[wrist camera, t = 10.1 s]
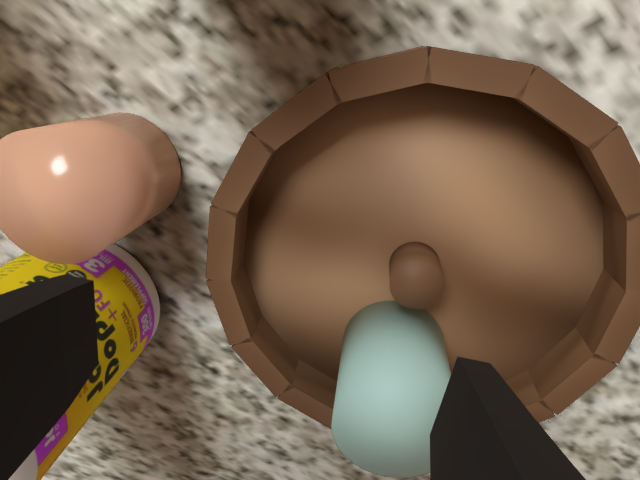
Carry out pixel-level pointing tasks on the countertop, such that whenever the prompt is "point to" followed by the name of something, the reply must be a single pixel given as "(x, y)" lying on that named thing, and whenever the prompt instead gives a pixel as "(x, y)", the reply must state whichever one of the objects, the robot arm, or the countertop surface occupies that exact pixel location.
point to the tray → (432, 225)
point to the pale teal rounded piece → (390, 389)
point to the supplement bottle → (112, 335)
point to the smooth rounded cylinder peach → (84, 184)
